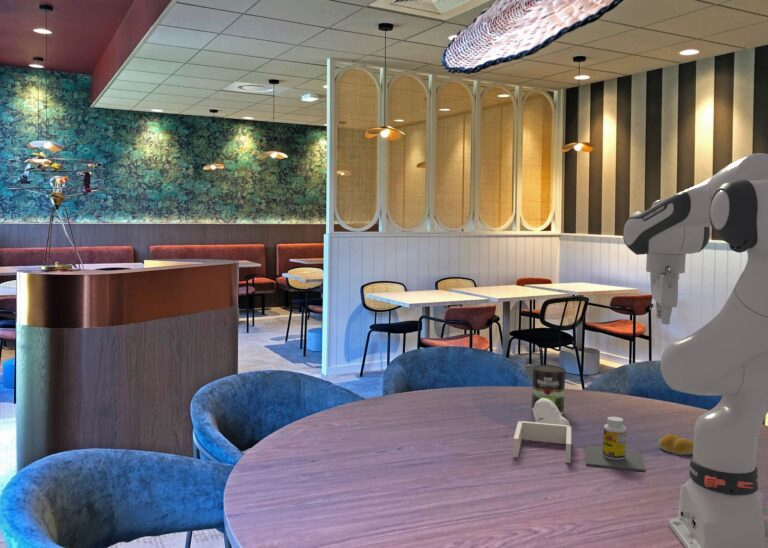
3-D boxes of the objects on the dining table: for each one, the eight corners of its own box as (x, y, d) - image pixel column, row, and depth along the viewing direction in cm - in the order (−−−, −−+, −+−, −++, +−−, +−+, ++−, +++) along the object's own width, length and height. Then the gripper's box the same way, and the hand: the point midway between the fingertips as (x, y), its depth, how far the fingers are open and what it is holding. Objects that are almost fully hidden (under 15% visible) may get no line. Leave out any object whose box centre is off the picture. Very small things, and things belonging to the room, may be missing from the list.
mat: (645, 471, 165) (645, 469, 165) (586, 465, 169) (586, 463, 169) (639, 452, 179) (639, 450, 178) (585, 447, 182) (585, 445, 182)
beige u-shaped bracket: (570, 463, 170) (571, 444, 170) (513, 457, 174) (513, 438, 174) (570, 443, 185) (571, 425, 185) (517, 438, 189) (518, 420, 189)
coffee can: (563, 417, 210) (565, 373, 208) (530, 414, 213) (531, 370, 211) (564, 408, 219) (566, 366, 218) (532, 405, 222) (533, 363, 221)
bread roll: (687, 458, 175) (688, 443, 175) (654, 449, 182) (655, 435, 181) (701, 451, 181) (702, 437, 180) (668, 442, 187) (669, 428, 187)
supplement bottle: (598, 454, 175) (599, 416, 174) (616, 452, 177) (617, 414, 176) (611, 461, 170) (612, 422, 169) (629, 459, 172) (631, 420, 171)
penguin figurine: (546, 394, 203) (577, 408, 193) (543, 421, 204) (574, 436, 194) (531, 397, 199) (562, 411, 190) (528, 424, 201) (559, 439, 191)
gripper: (686, 268, 153) (683, 328, 154) (673, 263, 173) (670, 316, 174) (656, 267, 155) (654, 327, 156) (647, 262, 174) (645, 314, 175)
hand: (662, 321), depth 165 cm, fingers open, 8 cm apart
